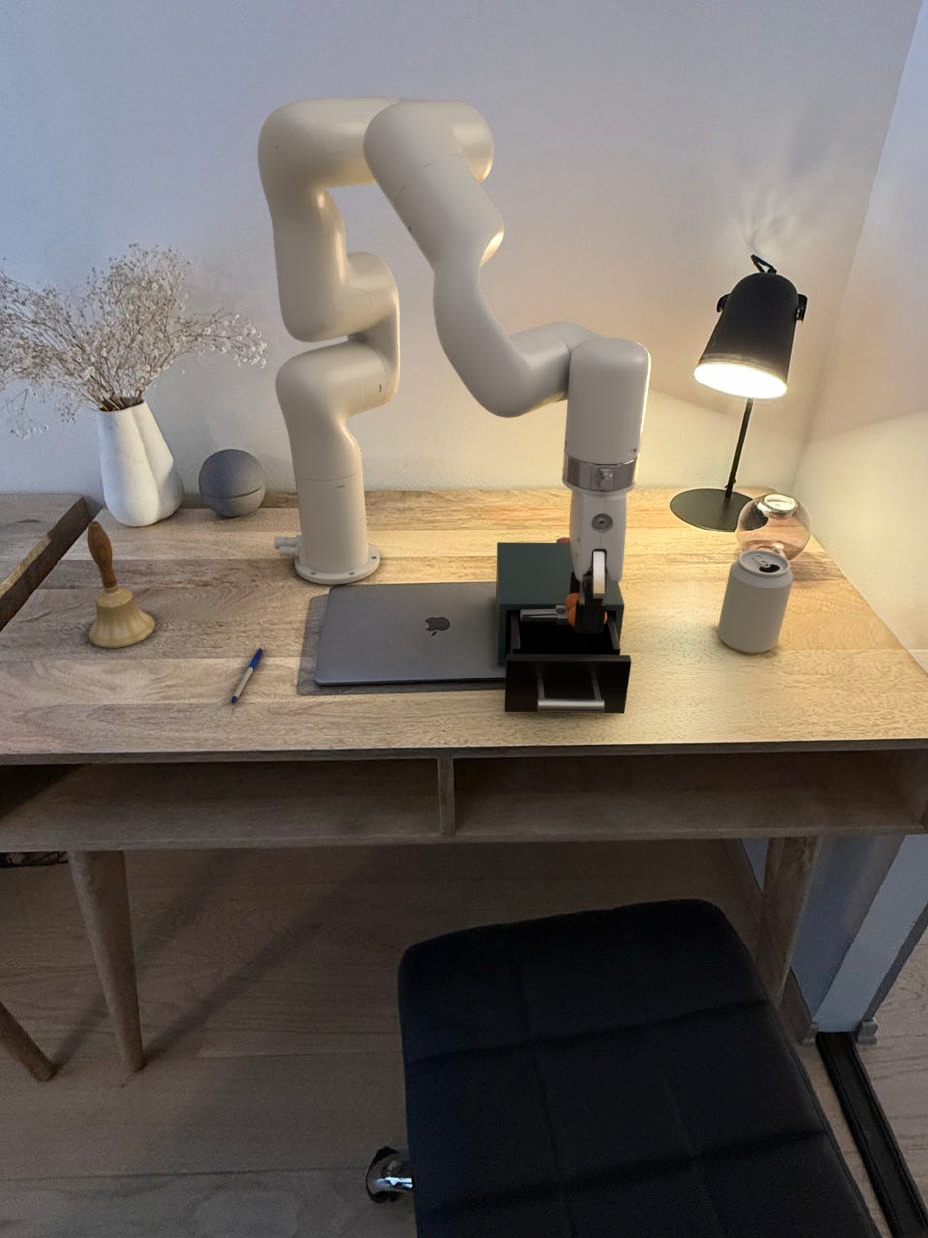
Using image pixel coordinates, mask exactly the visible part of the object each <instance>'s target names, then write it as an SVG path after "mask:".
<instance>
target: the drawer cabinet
mask: <svg viewBox="0 0 928 1238" xmlns="http://www.w3.org/2000/svg"><path fill="white" fill-rule="evenodd" d="M571 572H574V571H573V562H572V556H571V550H570V543H556V542H522V541H521V542H517V541H515V542H512V541H511V542H508V541H507V542H506V541H505V542H503V541H501V542H499V541H497V542H496V575H495V576H496V578H495V579H496V581H495V620H496V623H495V624H496V655H497V657H496V658H497V662H496V663H497V667H506V654H509V644H508V632H509V610H539V609H555V607H556V605H565V601H566V598H567V597H568V596H569V593H570V581H571ZM606 603H607V604H606V611H611V612H612V616H613V620H614V625H615V629H616V633H617V637H618V641H619V645H620V644H621V635H622V628H623V619H624V615H625V614H624V613H625V600H624V598H623V594H622V590H621V587H620V582H615V581H614V582H612V581H611V579H610V576H609V573H608V576H607V594H606Z"/></svg>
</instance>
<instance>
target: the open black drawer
mask: <svg viewBox="0 0 928 1238" xmlns="http://www.w3.org/2000/svg"><path fill="white" fill-rule="evenodd" d="M520 613H521V610H509V632H508V644H509V654H506V666H505V667H504V669H505V671H504V673H505V674H504V700H503V701H504V702H503V703H504V704H503V710H504V711H503V712H504V713H522V714H523V713H526V714H527V713H529V714H530V713H532V714H534V713H535V714H536V713H537V714H538V713H539V714H540V713H541V714H542V713H543V714H620V715H621V714H625V711H626V703H627V697H628V696H627V695H628V689H629V682H630V675H631V667H632V658H631V655H630V654H621V646H620V645H619V641H618V637H617V633H616V629H615V625H614V620H613V616H612V612H611V611H606V614H607V620H606V622H605V624H604V630H603V632H602V633H600V634H589V633H575V631H574V626H572V625H571V624H570V623H569V625H557V623H556V622H528V621H521V616H520Z"/></svg>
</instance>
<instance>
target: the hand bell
mask: <svg viewBox="0 0 928 1238" xmlns="http://www.w3.org/2000/svg"><path fill="white" fill-rule="evenodd" d="M86 538H87V547H88V550H89V553H90V556H91V559H92V560H93V561H94V563H95V565H96V566H97V568H98V569H99V572H100V577H101V582H102V587H103V590H102V591H101V592H100V593H99V594H98V595H97V596H96V598H95V605H96V606H95V607H96V616H95V617H96V618H95V621H94V623H93V624H92V625H91V627H90V628H89V631H88V639H89V641H90V642H91V643H92V644H94V645H95V646H98V647H101V648H106V649H107V648H108V649H117V648H125V647H130V646H132V645H135V644H137V643H140V642H142V641H143V640H146V639H147V638H148V637H149V636H151V634H152V633H153V632H154V631H155V628H156V622H155V619H154V618H153V617H152V616H151V615H150V614H149V613H147V612H145V611H142V609H140V607H139V606H138V605H137V603H136V601H135V598H134V596H133V593H132V592H131V590H129V589H127V588H126V587H125V588H124V587H120V586H119V584H118V580H117V577H116V574H115V571H114V568H113V547H112V543H111V540H110V537H109V535H108V534H107V532H106V531H105V530H104V528H103V527H102V524H101V523H100V522H99V520H98V521H97V520H93V521H90V522H88V524H87V537H86Z"/></svg>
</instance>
